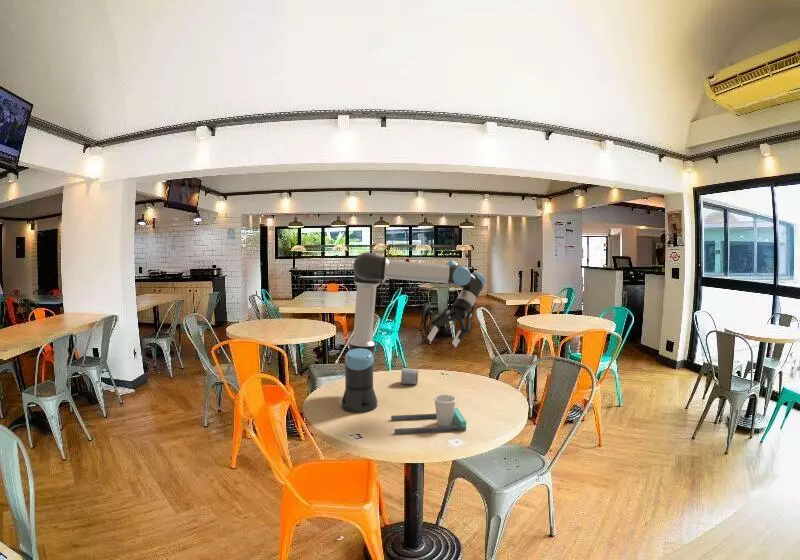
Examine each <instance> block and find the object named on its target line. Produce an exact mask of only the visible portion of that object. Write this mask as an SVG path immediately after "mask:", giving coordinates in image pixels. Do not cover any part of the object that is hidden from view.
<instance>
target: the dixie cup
mask: <svg viewBox="0 0 800 560" xmlns="http://www.w3.org/2000/svg"><path fill="white" fill-rule="evenodd" d="M433 400H434V405H435V414H436V416H437V418H436V423H437V425H438V427H441V426H453V420H454V419H453V414H454V408H456V401H457V398H456V397H455V396H453V395H449V394H438V395H436V396H434V398H433Z"/></svg>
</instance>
